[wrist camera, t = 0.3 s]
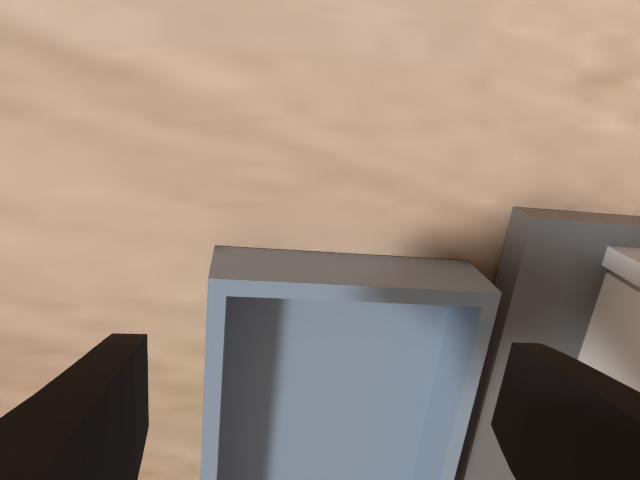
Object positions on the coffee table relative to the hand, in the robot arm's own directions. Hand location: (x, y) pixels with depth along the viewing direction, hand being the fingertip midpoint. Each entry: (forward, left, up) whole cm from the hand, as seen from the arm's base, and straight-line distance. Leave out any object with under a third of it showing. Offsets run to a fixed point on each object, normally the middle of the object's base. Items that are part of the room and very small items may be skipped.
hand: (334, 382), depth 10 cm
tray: (-9, -2, -10) cm, 13 cm away
